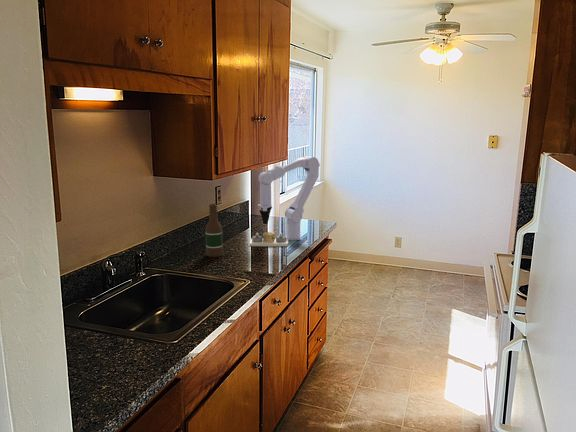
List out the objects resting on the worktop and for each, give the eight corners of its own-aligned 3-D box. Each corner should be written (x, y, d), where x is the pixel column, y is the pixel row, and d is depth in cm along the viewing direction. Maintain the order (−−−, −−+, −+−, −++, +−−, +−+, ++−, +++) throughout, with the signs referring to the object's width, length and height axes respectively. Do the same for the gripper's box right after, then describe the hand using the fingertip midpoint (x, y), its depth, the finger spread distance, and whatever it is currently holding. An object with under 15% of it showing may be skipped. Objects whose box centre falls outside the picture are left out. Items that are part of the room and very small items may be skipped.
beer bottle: (226, 254, 225) (225, 204, 220) (213, 258, 219) (211, 206, 214) (215, 251, 230) (214, 202, 225) (202, 255, 224) (200, 204, 219)
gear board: (251, 241, 248) (251, 231, 247) (288, 241, 248) (288, 231, 247) (249, 246, 240) (249, 235, 239) (287, 246, 239) (287, 235, 238)
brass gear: (274, 239, 246) (274, 231, 245) (274, 242, 241) (274, 234, 240) (263, 239, 246) (263, 231, 246) (263, 242, 241) (263, 234, 240)
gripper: (259, 193, 252) (259, 219, 254) (256, 198, 237) (256, 225, 240) (272, 193, 251) (272, 219, 254) (270, 198, 237) (270, 225, 240)
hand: (265, 222), depth 247 cm, fingers open, 7 cm apart
